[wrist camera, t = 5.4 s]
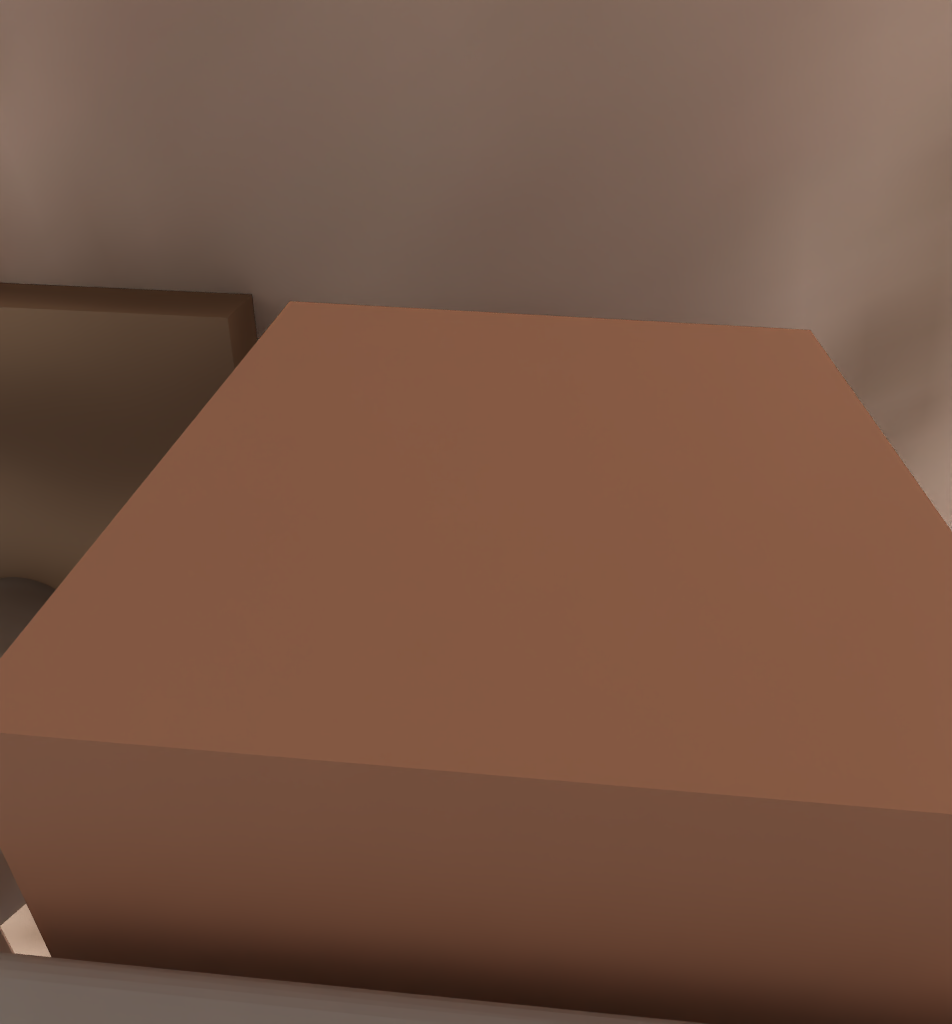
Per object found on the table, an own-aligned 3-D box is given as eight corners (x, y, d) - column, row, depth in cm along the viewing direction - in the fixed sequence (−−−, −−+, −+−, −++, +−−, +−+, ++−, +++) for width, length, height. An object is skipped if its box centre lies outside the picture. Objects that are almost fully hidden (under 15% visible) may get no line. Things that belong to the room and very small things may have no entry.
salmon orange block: (290, 301, 10) (-55, 727, 5) (810, 330, 10) (1162, 833, 4) (326, 673, 14) (159, 1182, 8) (712, 703, 14) (830, 1260, 8)
